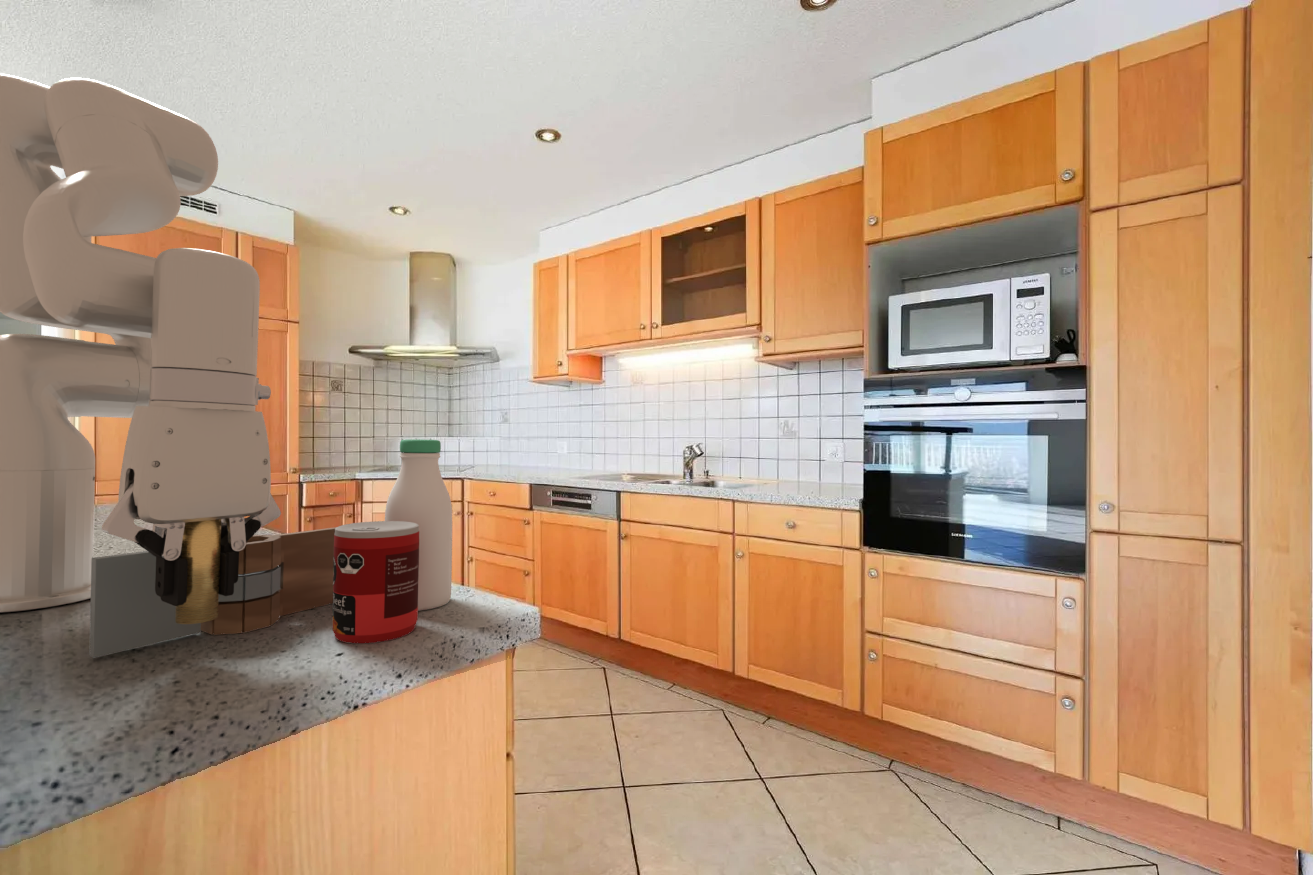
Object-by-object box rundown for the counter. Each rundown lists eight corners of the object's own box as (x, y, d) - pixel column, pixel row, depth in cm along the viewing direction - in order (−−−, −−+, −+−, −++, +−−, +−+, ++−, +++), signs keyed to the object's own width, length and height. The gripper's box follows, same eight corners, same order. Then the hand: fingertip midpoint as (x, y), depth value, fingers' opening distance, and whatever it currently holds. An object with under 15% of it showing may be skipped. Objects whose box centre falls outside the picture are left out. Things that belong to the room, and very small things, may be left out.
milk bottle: (462, 604, 70) (465, 440, 70) (396, 617, 65) (400, 439, 65) (435, 592, 76) (438, 439, 76) (372, 602, 70) (376, 438, 70)
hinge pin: (168, 619, 51) (173, 501, 51) (208, 611, 54) (212, 499, 54) (184, 626, 50) (189, 505, 50) (224, 617, 52) (228, 502, 52)
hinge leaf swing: (77, 649, 53) (80, 554, 53) (258, 609, 66) (259, 532, 66) (106, 664, 50) (108, 562, 50) (289, 618, 63) (291, 538, 63)
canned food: (335, 625, 62) (337, 522, 62) (415, 617, 65) (417, 519, 65) (328, 649, 55) (330, 533, 55) (419, 638, 58) (421, 529, 58)
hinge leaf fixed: (191, 627, 60) (193, 540, 60) (338, 593, 74) (339, 523, 74) (222, 638, 57) (224, 547, 57) (369, 601, 71) (370, 527, 71)
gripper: (278, 399, 61) (272, 574, 61) (63, 385, 46) (55, 612, 47) (320, 400, 57) (313, 585, 57) (100, 384, 43) (92, 631, 43)
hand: (197, 595), depth 52 cm, fingers closed on hinge pin, 3 cm apart
